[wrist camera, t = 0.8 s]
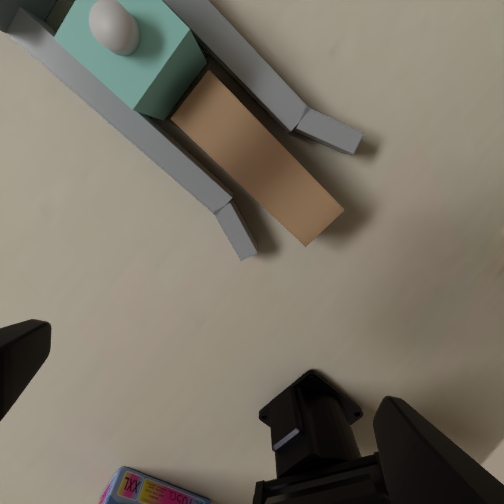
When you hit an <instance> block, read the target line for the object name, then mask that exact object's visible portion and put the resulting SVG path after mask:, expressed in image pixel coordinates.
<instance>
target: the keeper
mask: <svg viewBox="0 0 504 504" xmlns="http://www.w3.org/2000/svg"><path fill="white" fill-rule="evenodd" d="M53 39H54V40H55V41H56V42H58V43H59V44H60V45H61V46H62V47H63V48H64V49H65V50H66V51H68V52H69V53H70V54H71V55H72V56H73V57H74V58H75V59H76V60H78V61H79V62H80V63H81V64H82V65H83V66H84V67H85V68H86V69H88V70H89V71H90V72H91V73H92V74H93V75H94V76H95V77H96V78H98V79H99V80H100V81H101V82H102V83H103V84H104V85H105V86H106V87H108V88H109V89H110V90H111V91H112V92H113V93H114V94H115V95H116V96H118V97H119V98H120V99H121V100H122V101H123V102H124V103H125V104H126V105H128V106H129V107H130V108H131V109H132V110H134V111H137V112H140V113H143V114H146V115H149V116H152V117H154V118H157V119H160V120H163V121H164V119H165V118H166V117H167V115H168V114H169V113H170V111H171V110H172V109H173V107H174V106H175V105H176V103H177V102H178V101H179V99H180V98H181V97H182V95H183V94H184V93H185V91H186V90H187V89H188V87H189V86H190V85H191V83H192V82H193V81H194V79H195V78H196V77H197V75H198V74H199V73H200V71H201V70H202V69H203V67H204V66H205V64H206V63H207V61H206V59H205V57H204V55H203V53H202V51H201V50H200V48H199V46H198V44H197V42H196V40H195V38H194V36H193V34H192V32H191V30H190V29H189V28H188V26H187V25H186V24H185V23H184V22H183V21H182V20H181V19H180V18H179V17H178V16H177V15H176V14H175V13H174V12H173V11H172V10H171V9H170V8H169V7H168V6H167V5H166V4H165V3H164V2H163V1H162V0H75V2H74V4H73V5H72V7H71V9H70V11H69V12H68V14H67V16H66V17H65V19H64V21H63V23H62V24H61V26H60V28H59V29H58V31H57V33H56V35H55V36H54V38H53Z"/></svg>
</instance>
